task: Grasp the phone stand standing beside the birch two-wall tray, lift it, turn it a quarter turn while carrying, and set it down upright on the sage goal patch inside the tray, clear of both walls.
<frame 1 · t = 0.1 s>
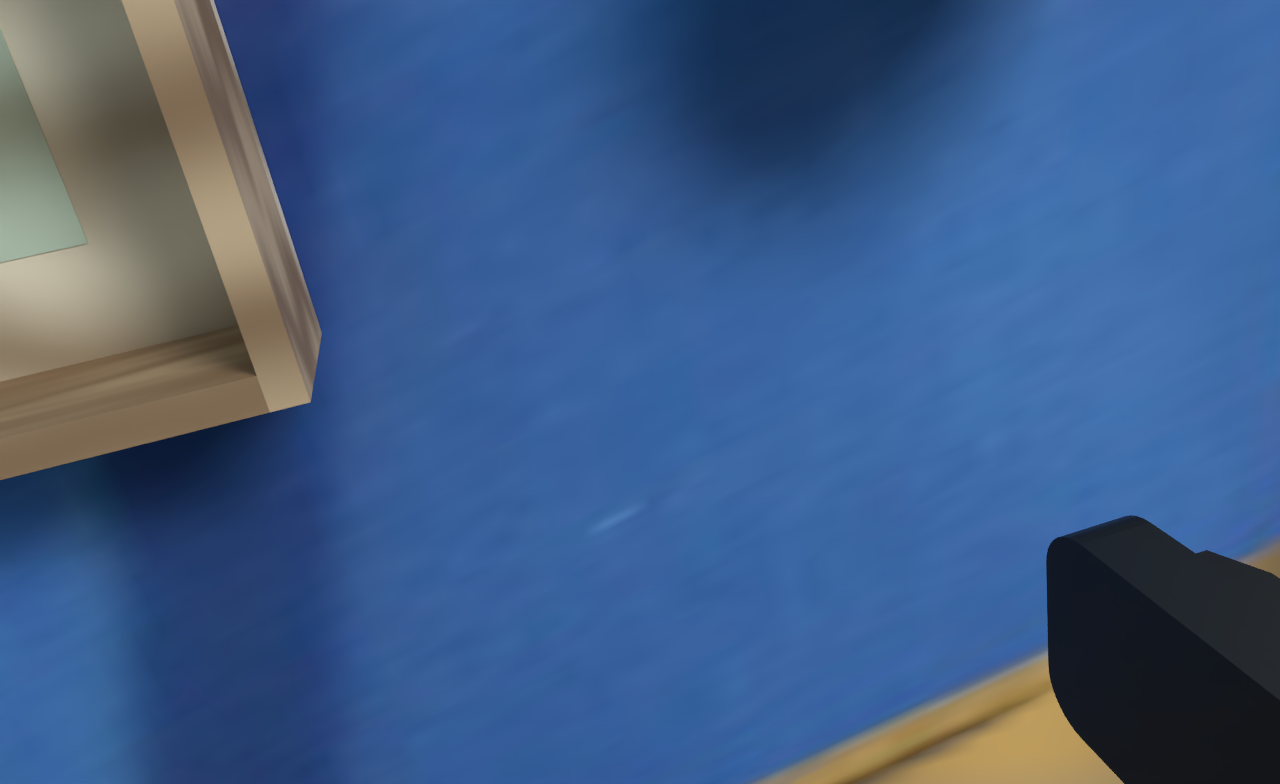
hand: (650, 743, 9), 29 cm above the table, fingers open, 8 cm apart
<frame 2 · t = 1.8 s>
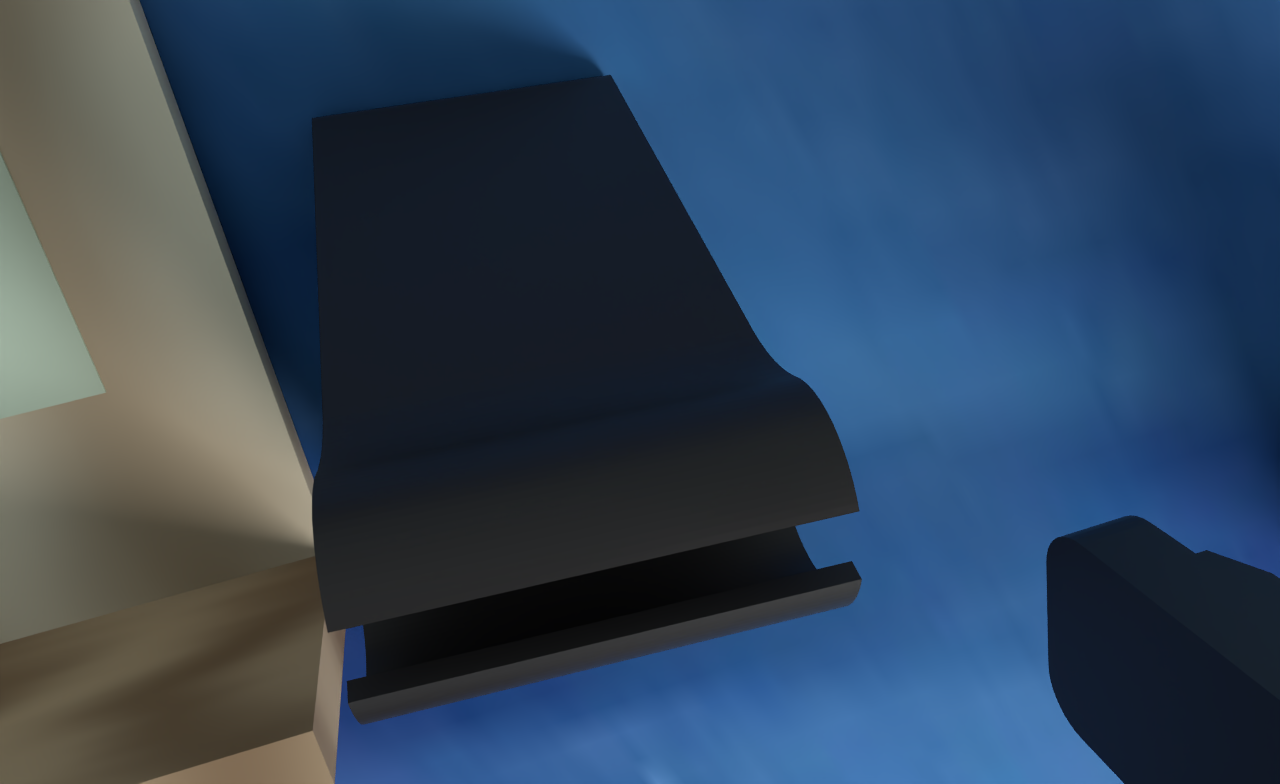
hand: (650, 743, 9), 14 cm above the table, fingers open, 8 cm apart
phone stand: (500, 302, 22), on the table
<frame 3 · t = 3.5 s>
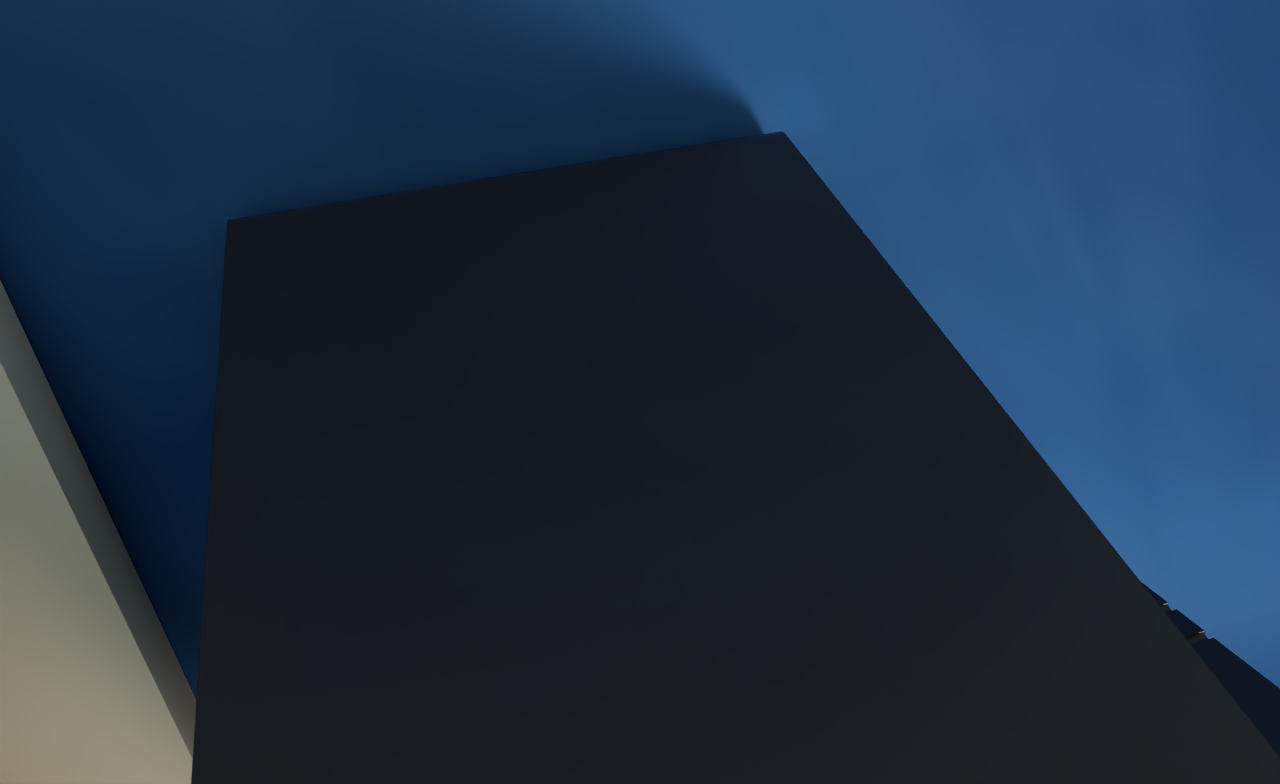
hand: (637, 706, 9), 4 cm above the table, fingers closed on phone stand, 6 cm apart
phone stand: (569, 514, 13), on the table, touching gripper
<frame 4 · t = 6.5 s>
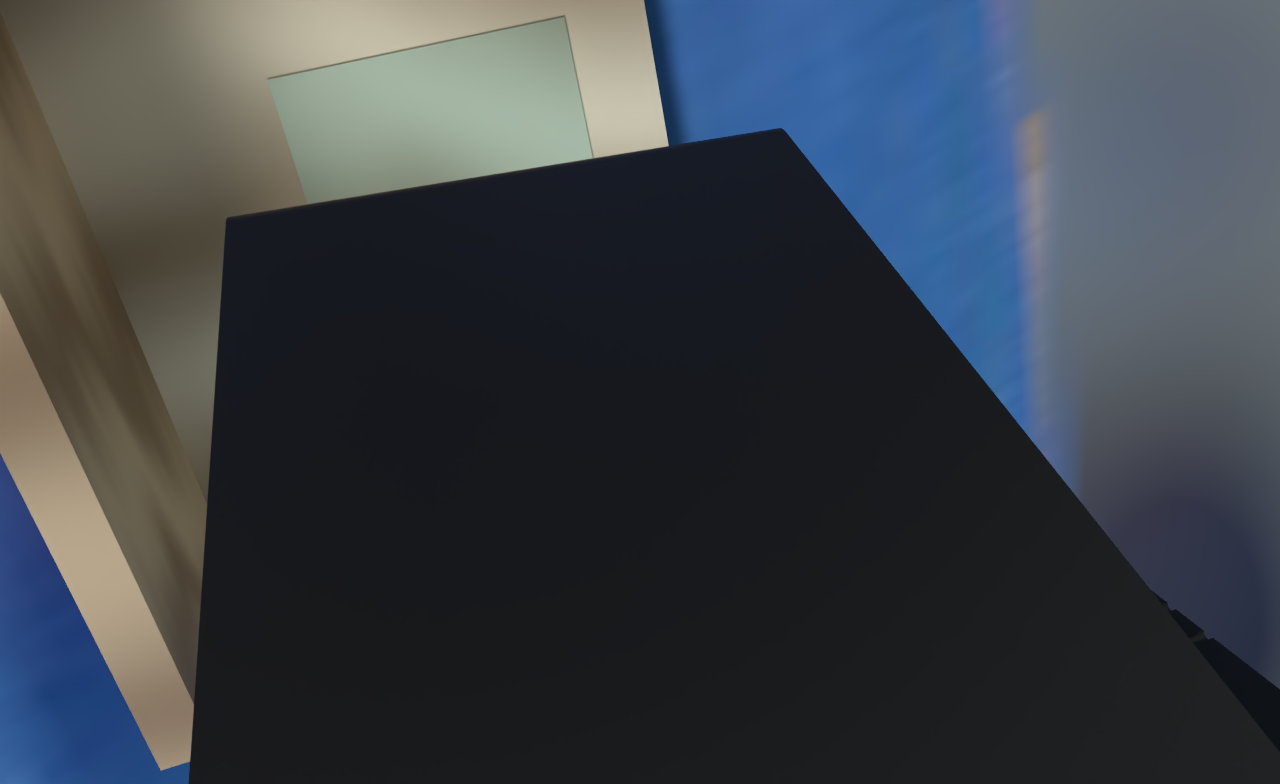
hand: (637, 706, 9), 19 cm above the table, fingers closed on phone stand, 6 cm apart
phone stand: (568, 511, 13), point 15 cm above the table, touching gripper
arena: (382, 225, 25), on the table
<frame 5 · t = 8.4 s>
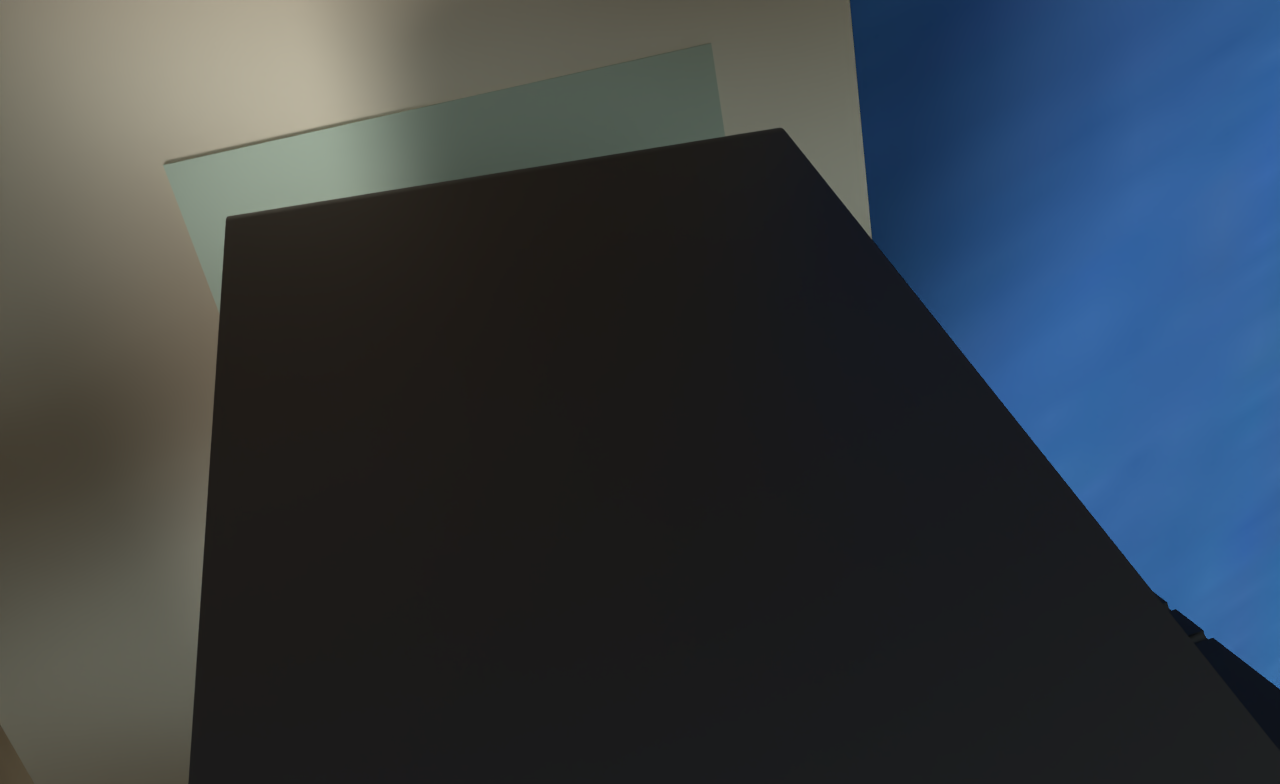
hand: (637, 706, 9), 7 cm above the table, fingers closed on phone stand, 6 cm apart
phone stand: (568, 511, 13), point 3 cm above the table, touching gripper
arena: (381, 402, 15), on the table
when the fingers open (5 cm above the table, at t = 9.7 s): phone stand stays where it is, resting on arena.
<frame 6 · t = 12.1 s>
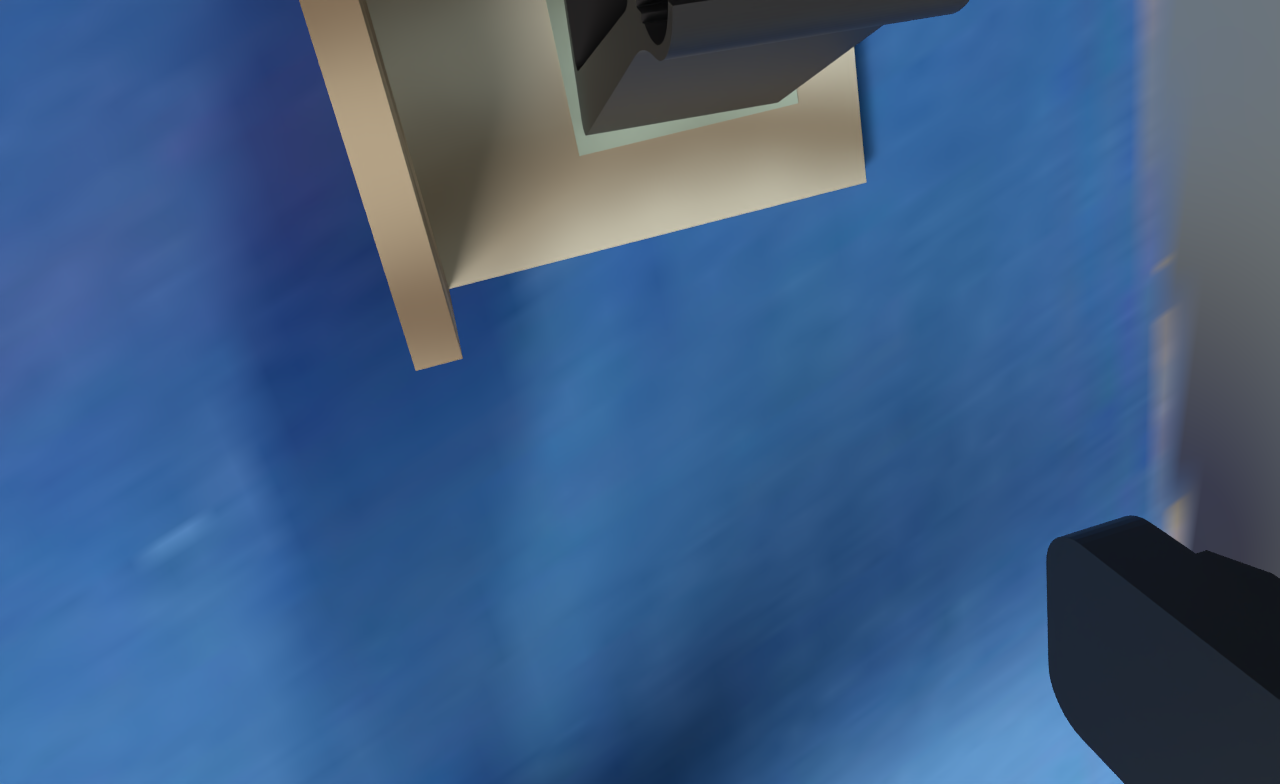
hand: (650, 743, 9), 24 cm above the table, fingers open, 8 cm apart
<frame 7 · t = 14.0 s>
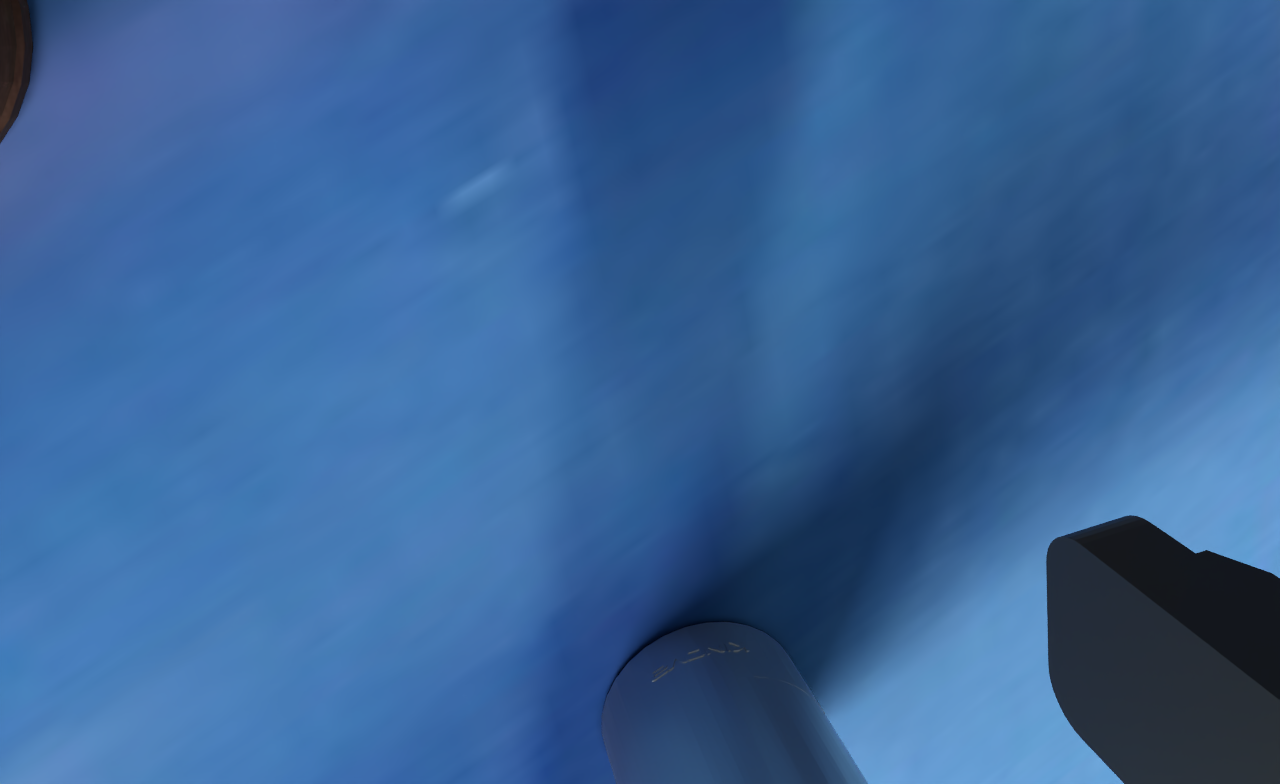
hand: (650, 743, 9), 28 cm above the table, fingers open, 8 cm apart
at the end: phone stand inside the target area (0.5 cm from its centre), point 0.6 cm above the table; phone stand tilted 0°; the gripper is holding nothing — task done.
